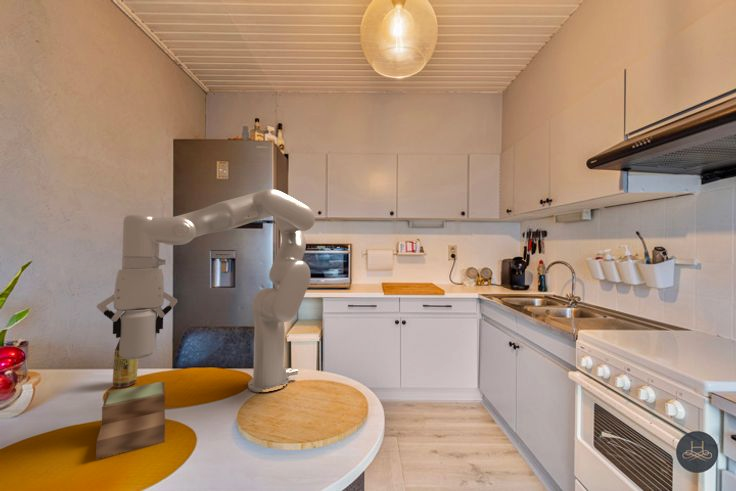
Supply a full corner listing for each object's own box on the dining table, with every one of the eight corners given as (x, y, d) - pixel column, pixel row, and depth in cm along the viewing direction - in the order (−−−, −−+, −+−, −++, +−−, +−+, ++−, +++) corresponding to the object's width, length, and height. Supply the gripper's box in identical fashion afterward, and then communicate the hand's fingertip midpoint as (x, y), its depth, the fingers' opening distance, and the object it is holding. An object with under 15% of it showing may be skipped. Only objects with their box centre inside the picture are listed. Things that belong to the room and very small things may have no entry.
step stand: (163, 411, 85) (164, 380, 85) (164, 441, 72) (165, 405, 72) (106, 424, 79) (107, 391, 79) (96, 460, 65) (97, 420, 65)
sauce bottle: (107, 388, 99) (109, 325, 99) (125, 380, 105) (127, 320, 105) (125, 389, 98) (127, 326, 98) (142, 381, 104) (144, 321, 104)
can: (136, 361, 74) (138, 311, 74) (110, 359, 76) (112, 309, 76) (163, 352, 81) (164, 305, 82) (139, 349, 83) (140, 304, 83)
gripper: (180, 263, 87) (178, 327, 87) (98, 263, 77) (95, 335, 77) (181, 264, 81) (179, 333, 80) (92, 265, 71) (90, 343, 71)
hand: (138, 333), depth 79 cm, fingers closed on can, 7 cm apart
